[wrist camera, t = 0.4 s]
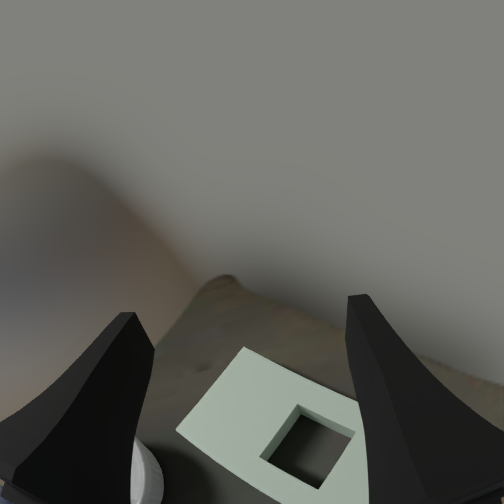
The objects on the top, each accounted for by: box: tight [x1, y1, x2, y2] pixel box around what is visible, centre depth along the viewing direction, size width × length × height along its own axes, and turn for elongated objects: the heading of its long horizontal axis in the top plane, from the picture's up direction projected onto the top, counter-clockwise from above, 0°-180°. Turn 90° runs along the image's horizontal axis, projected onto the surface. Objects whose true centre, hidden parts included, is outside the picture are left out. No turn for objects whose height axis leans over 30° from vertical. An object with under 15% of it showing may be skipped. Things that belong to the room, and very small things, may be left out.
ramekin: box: [131, 436, 164, 504], centre depth 21 cm, size 11×11×5 cm
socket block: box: [176, 347, 369, 504], centre depth 22 cm, size 20×10×3 cm, turn 54°
